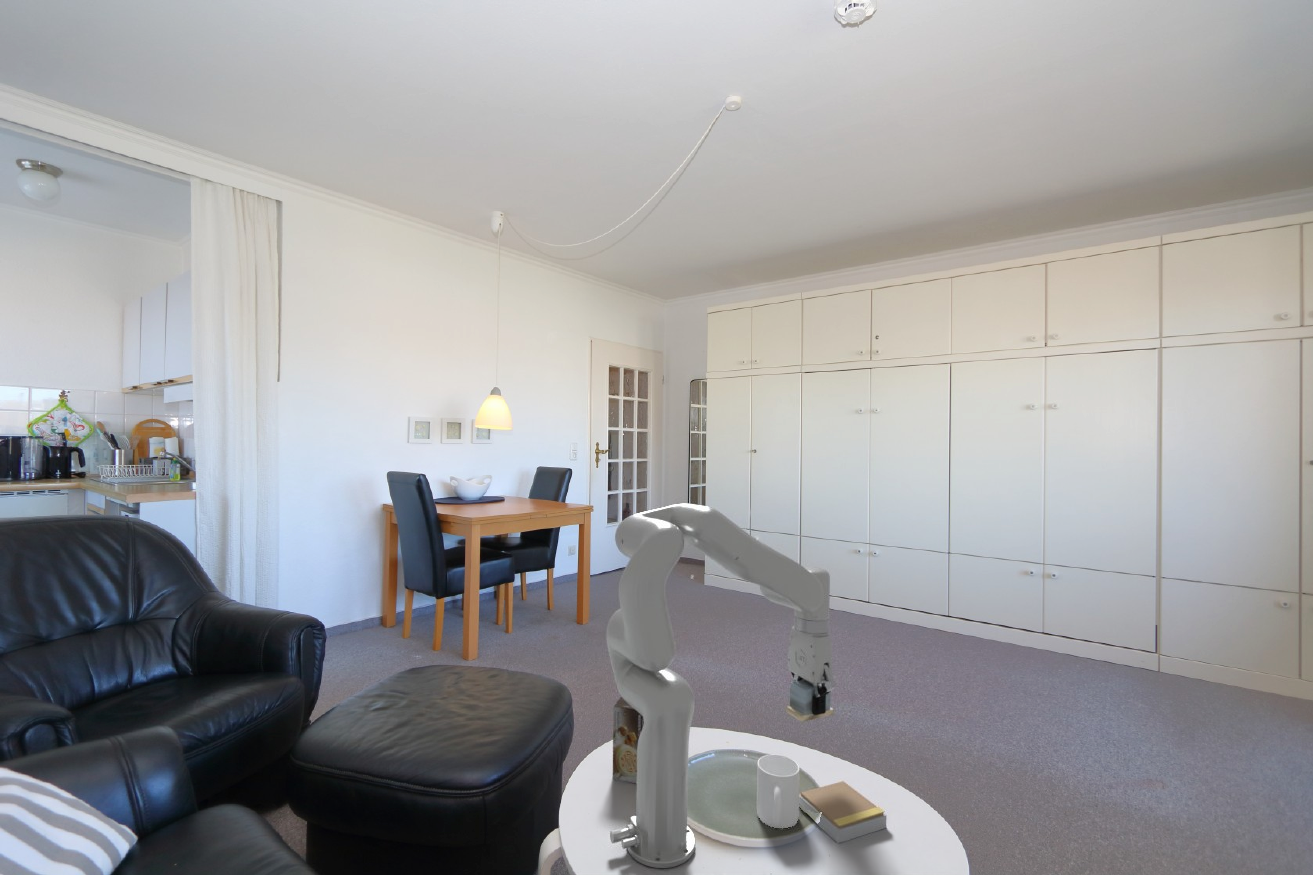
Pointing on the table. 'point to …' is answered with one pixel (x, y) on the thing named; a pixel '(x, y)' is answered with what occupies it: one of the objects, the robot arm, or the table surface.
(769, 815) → the mug
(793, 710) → the banded blue box
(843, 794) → the dock
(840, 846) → the table surface
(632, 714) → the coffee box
